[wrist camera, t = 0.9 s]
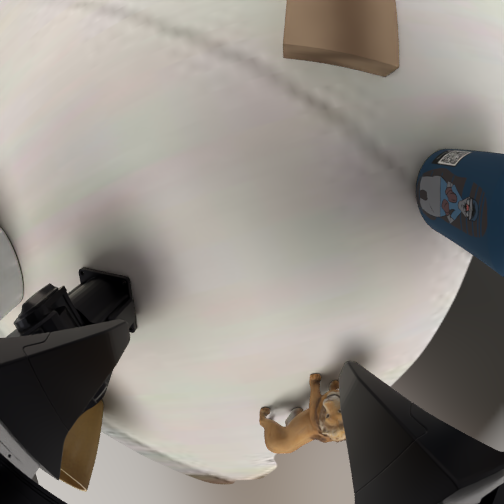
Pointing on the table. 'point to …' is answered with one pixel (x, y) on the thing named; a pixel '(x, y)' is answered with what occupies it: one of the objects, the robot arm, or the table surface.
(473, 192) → the soda can
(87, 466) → the plant pot
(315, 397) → the lion figurine
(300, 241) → the table surface
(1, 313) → the utensil holder
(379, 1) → the base block
